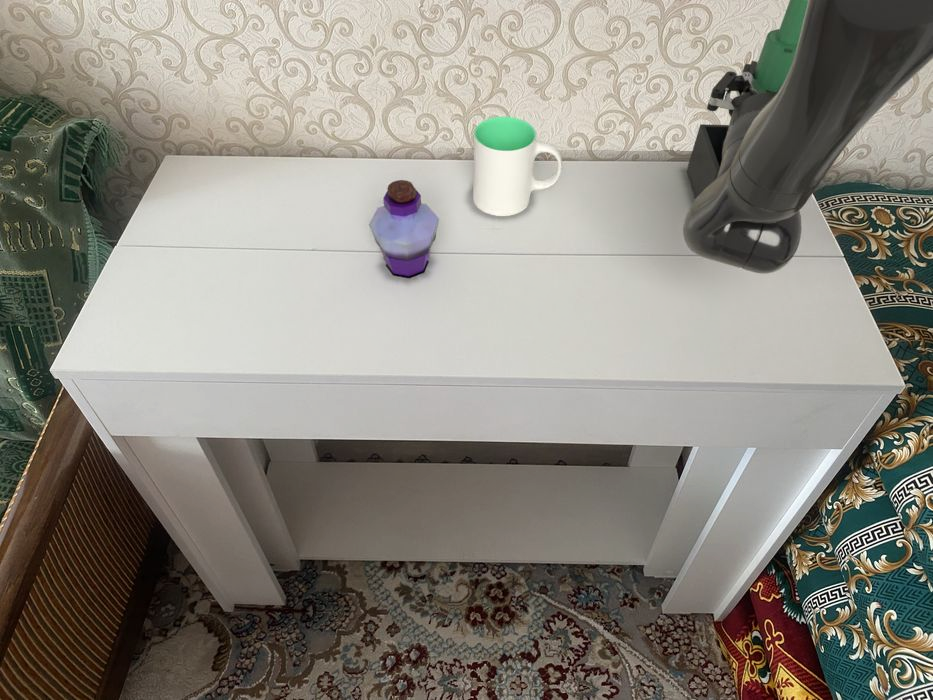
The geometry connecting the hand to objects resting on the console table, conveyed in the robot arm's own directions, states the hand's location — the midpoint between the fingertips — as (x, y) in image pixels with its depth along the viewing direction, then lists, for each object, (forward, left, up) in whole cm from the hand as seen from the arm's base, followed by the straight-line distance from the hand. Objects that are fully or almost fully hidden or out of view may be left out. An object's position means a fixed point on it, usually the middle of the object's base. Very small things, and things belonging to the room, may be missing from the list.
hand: (775, 72), depth 87 cm
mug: (+29, +14, -17) cm, 37 cm away
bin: (0, +3, -17) cm, 17 cm away
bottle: (0, +3, -13) cm, 13 cm away
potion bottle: (+38, +32, -17) cm, 53 cm away
